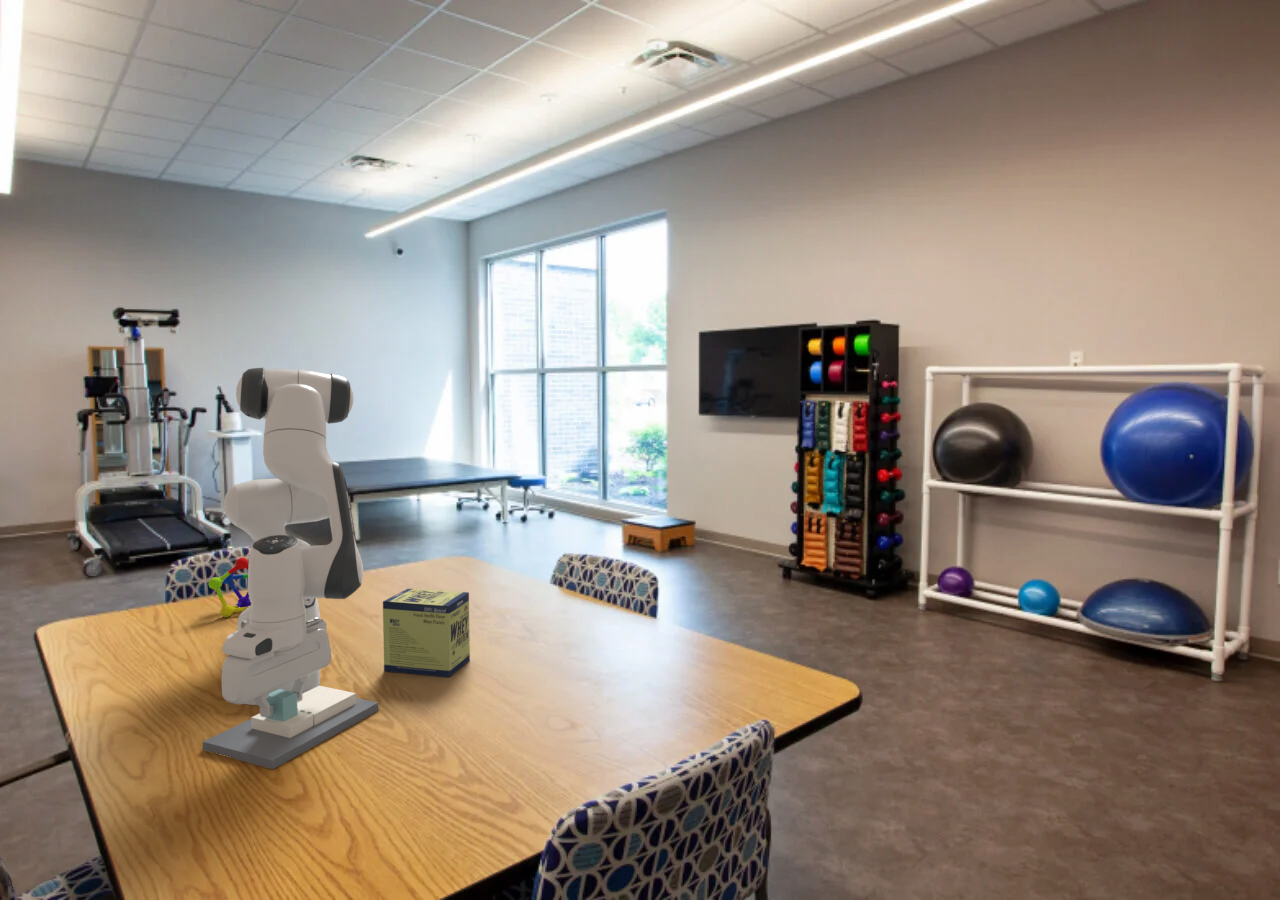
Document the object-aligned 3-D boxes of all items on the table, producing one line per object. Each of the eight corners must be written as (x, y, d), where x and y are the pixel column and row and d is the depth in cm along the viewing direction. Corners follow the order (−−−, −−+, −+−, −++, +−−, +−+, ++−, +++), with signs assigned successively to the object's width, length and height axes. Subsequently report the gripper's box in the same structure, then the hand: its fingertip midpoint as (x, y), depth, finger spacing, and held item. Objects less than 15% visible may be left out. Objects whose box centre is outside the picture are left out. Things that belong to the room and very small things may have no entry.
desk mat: (202, 750, 129) (202, 741, 129) (314, 696, 151) (314, 688, 151) (272, 769, 123) (272, 760, 123) (378, 710, 145) (378, 702, 145)
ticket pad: (276, 716, 139) (276, 705, 138) (319, 695, 148) (319, 685, 148) (314, 725, 135) (314, 713, 135) (356, 703, 144) (355, 692, 144)
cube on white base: (251, 728, 134) (250, 695, 133) (275, 716, 138) (274, 684, 138) (290, 738, 130) (288, 703, 130) (313, 725, 135) (312, 692, 134)
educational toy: (264, 604, 216) (267, 551, 215) (275, 616, 205) (278, 560, 205) (201, 609, 206) (204, 553, 205) (209, 621, 196) (213, 563, 195)
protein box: (450, 678, 161) (449, 605, 159) (382, 672, 164) (380, 600, 162) (471, 660, 171) (470, 591, 170) (407, 655, 174) (405, 587, 173)
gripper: (312, 612, 144) (314, 684, 145) (213, 647, 125) (217, 729, 126) (338, 616, 141) (340, 689, 142) (241, 652, 122) (245, 736, 124)
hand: (281, 708), depth 134 cm, fingers open, 5 cm apart
